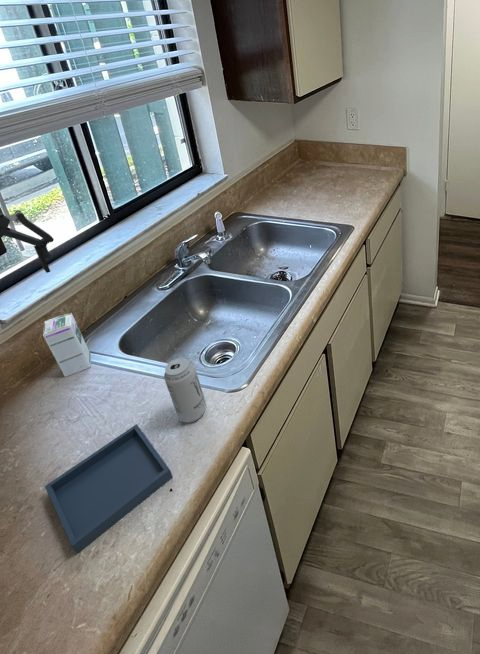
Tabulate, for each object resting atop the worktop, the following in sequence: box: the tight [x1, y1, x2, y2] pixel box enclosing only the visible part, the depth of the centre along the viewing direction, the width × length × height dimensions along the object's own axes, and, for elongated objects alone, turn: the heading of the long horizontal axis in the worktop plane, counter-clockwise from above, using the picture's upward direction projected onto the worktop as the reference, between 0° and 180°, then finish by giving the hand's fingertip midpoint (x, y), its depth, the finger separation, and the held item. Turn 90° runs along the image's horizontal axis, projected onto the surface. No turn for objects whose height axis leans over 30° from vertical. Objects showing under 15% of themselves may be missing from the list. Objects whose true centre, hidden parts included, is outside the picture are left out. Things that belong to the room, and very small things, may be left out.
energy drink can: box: [163, 356, 207, 424], centre depth 97 cm, size 6×6×15 cm
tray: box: [44, 424, 173, 555], centre depth 85 cm, size 16×17×3 cm
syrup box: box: [42, 312, 92, 377], centre depth 110 cm, size 6×6×14 cm
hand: (12, 283), depth 102 cm, fingers open, 13 cm apart
